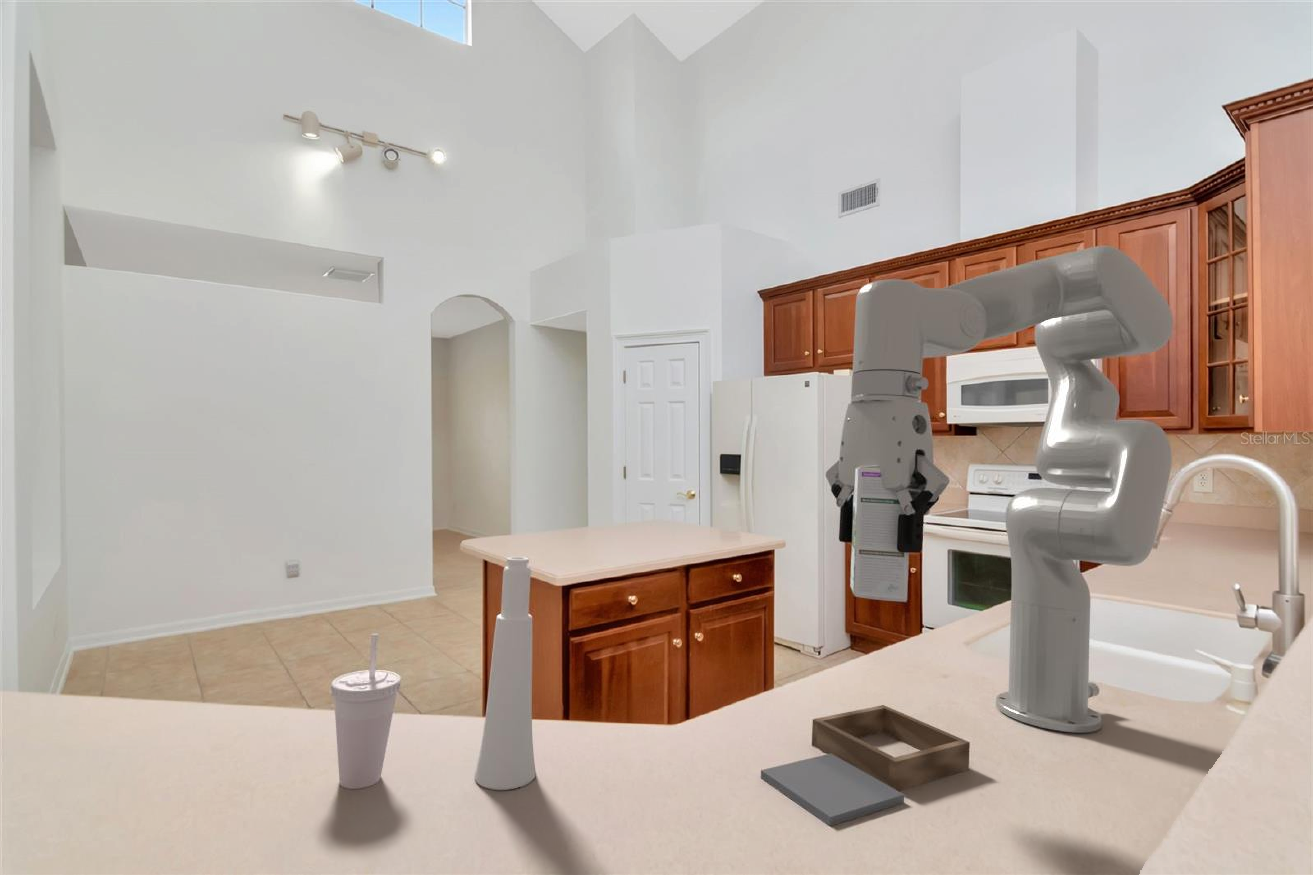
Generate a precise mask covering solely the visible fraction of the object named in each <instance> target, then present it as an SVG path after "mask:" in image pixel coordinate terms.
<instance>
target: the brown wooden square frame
mask: <svg viewBox="0 0 1313 875" xmlns="http://www.w3.org/2000/svg"><path fill="white" fill-rule="evenodd" d="M811 725H812V729H811V746H813V748H814V747H815V748H816V749H818V750H820V751H821V752H823V753H825V754H833V755H835V756H836V757H838V758H840V759H842V760H844V761H845V762H847V763H849V764H851V765H853V766H854V767H856V768H858V769H860V770H861V771H863V772H865V773H867V774H869V775H870V776H872V777H874V778H876V779H877V780H879V781H881V782H883V783H885V784H886V785H888V786H890V787H892V788H894V789H895V790H897V791H899V792H900V791H902V790H904V789H909V788H911V787H912V788H913V787H915V786H918V785H919V786H920V785H921V784H926V783H929V782H932V781H935V780H939V779H942V778H946V777H948V776H951V775H955V774H959V773H963V772H965V771H969V770H970V750H971V749H970V747H971V746H970V745H971V743H970V741H968V740H965V739H964V738H961V737H958V736H956V735H954V734H952V733H949V732H947V731H944V730H942V729H940V728H938V727H935V726H934V725H930V724H928V723H926V722H924V721H921V720H919V719H917V718H914V717H912V716H911V715H910V716H909V715H908V714H905V713H903V712H901V711H898V710H897V709H893V708H892V707H889V706H887V705H884V704H882V705H877V706H872V707H866V708H862V709H861V708H860V709H857V710H853V711H852V710H851V711H847V712H842V713H837V714H833V715H826V716H823V717H819V718H818V717H817V718H813V719H812V724H811ZM882 733H884V734H887V735H889V736H890V737H893V738H894V739H897V740H898V741H901V742H903V743H905V744H906V745H909V746H912V747H913V748H915V749H917V750H918V751H914V752H911V753H910V752H909V753H906V754H902V755H899V756H893V755H891V754H888V752H884V751H883V750H881V749H879V748H877V747H875V746H873V745H872V744H869V743H867V742H866V741H863V740H862V739H859V738H865V737H868V736H869V737H870V736H873V735H877V734H882Z"/></svg>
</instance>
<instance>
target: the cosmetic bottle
mask: <svg viewBox="0 0 1313 875" xmlns="http://www.w3.org/2000/svg"><path fill="white" fill-rule="evenodd" d="M529 561H530V558H529V557H526V556H509V557H506V563H507V566H505V567H504V568H503V572H502V585H501V586H502V587H501V589H502V591H501V608H500V614H497V615H496V620H495V627H494V634H493V643H492V651H491V652H492V653H491V654H492V655H491V663H490V672H489V683H488V691H487V700H486V701H487V702H486V709H485V710H486V711H485V718H484V726H483V731H482V732H483V733H482V738H481V744H480V750H479V755H478V759H477V763H476V766H475V772H474V780H475V782H476V783H477V784H478V785H479V786H480V787H483V788H485V789H488V790H493V791H509V790H510V789H511V790H515V788H516V789H519V788H518V787H520V788H522V787H524V786H526V785H528V784H530V783H532V781H533V780H535V777H536V772H537V771H536V765H535V755H534V754H535V753H534V742H533V716H532V715H533V708H532V706H533V703H532V700H533V698H532V696H533V616H532V615H531V614H530V613H529V612H530V611H529V610H530V609H529V608H530V594H531V593H530V590H531V576H532V575H531V574H532V571H531V568H530V567H529V566H528V564H529Z"/></svg>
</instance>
